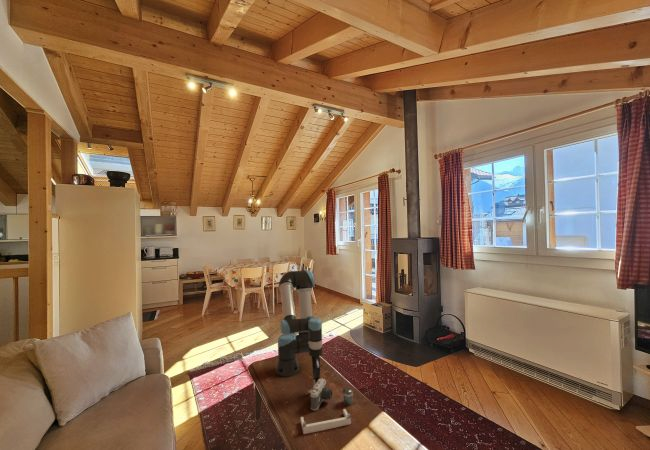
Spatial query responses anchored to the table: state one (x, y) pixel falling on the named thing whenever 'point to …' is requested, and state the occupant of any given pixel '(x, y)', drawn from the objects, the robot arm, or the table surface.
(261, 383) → the table surface
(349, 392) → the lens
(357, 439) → the table surface
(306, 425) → the bracket
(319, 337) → the robot arm
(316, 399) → the camera
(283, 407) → the table surface
